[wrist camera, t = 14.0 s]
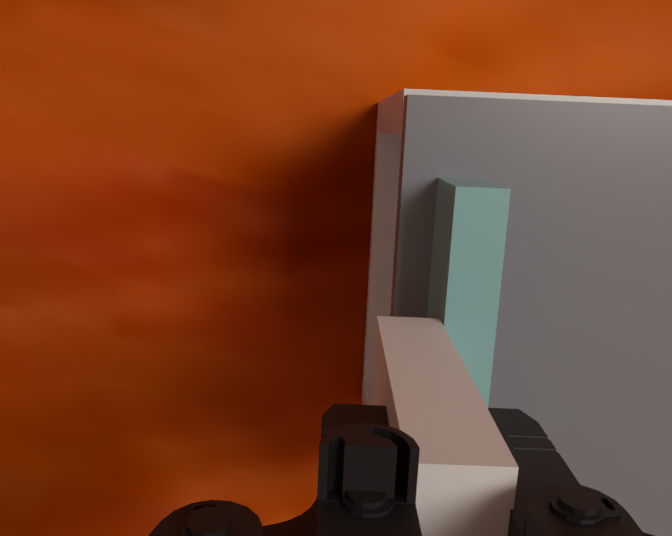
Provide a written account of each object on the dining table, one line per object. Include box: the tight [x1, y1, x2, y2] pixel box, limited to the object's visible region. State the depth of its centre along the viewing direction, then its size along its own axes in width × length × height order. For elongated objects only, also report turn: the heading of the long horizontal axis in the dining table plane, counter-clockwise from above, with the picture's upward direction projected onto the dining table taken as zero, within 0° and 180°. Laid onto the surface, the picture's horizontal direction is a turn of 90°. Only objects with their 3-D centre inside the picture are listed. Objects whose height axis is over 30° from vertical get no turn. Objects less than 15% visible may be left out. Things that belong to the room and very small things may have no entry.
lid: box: [390, 94, 672, 536], centre depth 16 cm, size 10×13×3 cm
